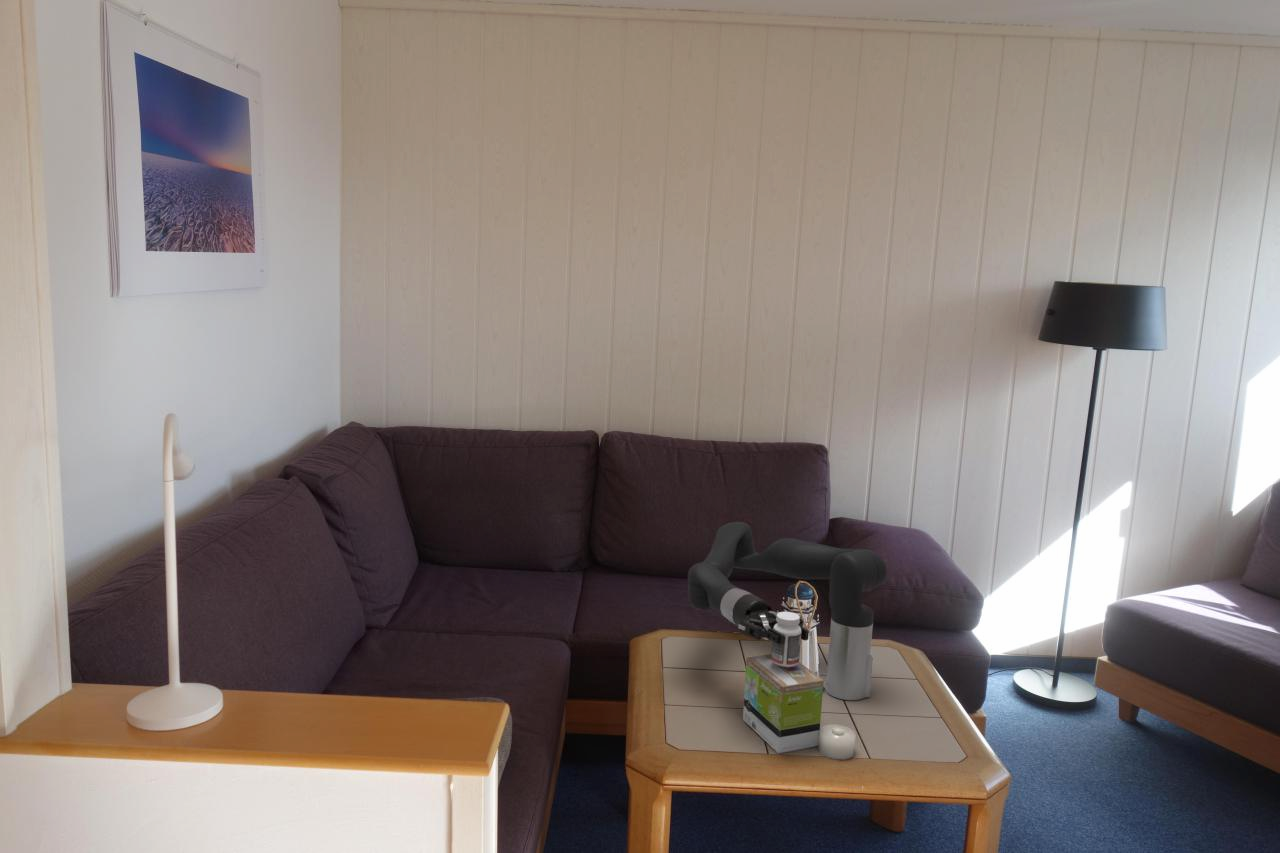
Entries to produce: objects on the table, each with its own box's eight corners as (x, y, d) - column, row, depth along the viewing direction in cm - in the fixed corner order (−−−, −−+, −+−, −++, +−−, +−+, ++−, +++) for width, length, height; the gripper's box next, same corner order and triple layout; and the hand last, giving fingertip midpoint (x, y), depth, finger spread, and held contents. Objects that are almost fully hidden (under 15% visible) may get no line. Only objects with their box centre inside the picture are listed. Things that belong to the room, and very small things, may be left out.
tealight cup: (848, 742, 203) (850, 720, 202) (858, 759, 196) (860, 737, 195) (814, 742, 202) (816, 720, 201) (824, 760, 195) (825, 737, 194)
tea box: (740, 721, 210) (745, 655, 207) (781, 714, 214) (786, 649, 211) (777, 755, 196) (782, 684, 193) (820, 747, 200) (826, 678, 197)
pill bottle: (798, 657, 205) (802, 612, 203) (799, 668, 199) (803, 622, 197) (770, 655, 205) (774, 609, 203) (771, 666, 200) (774, 619, 198)
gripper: (770, 622, 217) (821, 650, 203) (716, 631, 210) (764, 661, 196) (773, 589, 216) (824, 615, 202) (719, 597, 209) (767, 625, 195)
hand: (794, 638), depth 199 cm, fingers closed on pill bottle, 5 cm apart
